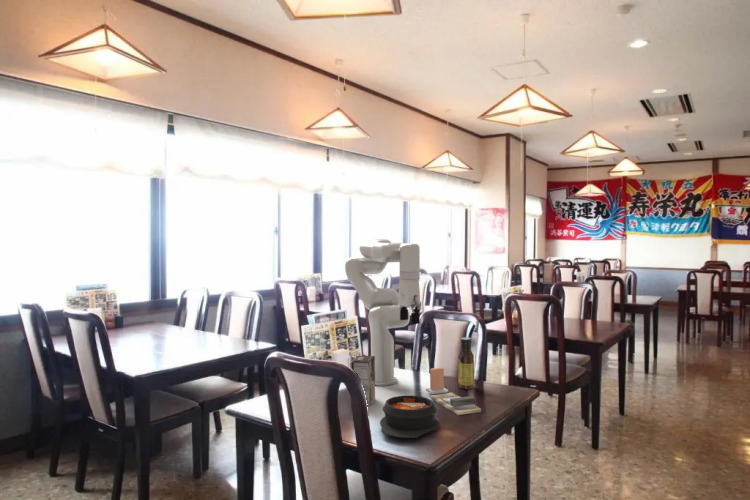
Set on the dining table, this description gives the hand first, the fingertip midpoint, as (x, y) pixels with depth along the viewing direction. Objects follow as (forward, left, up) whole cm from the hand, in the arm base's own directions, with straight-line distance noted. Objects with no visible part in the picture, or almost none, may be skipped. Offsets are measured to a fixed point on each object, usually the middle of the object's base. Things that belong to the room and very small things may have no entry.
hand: (409, 321), depth 192 cm
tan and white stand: (+2, +11, -27) cm, 29 cm away
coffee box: (0, -18, -28) cm, 34 cm away
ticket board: (+15, +11, -28) cm, 34 cm away
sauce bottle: (-2, +26, -28) cm, 38 cm away
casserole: (+30, -14, -29) cm, 44 cm away
